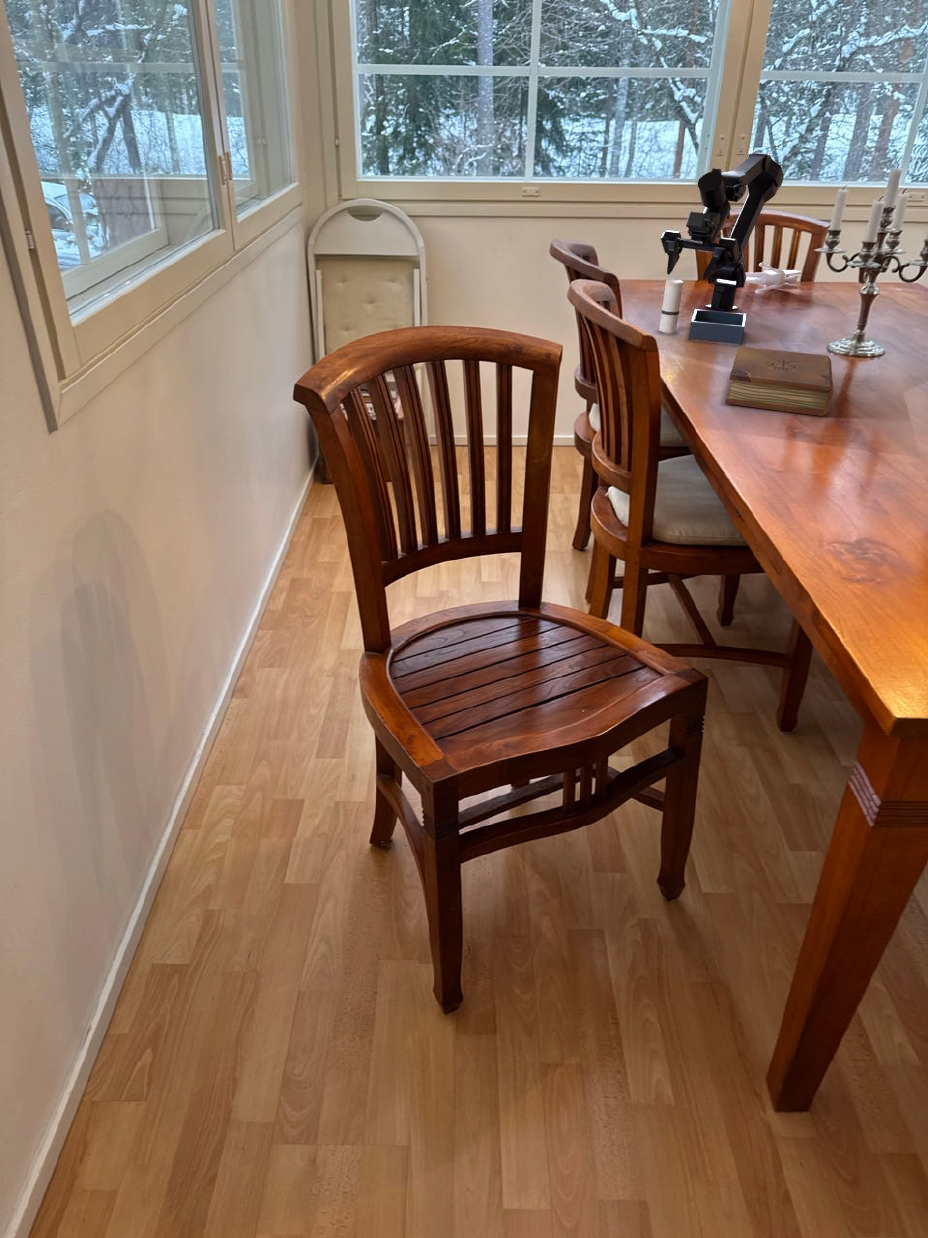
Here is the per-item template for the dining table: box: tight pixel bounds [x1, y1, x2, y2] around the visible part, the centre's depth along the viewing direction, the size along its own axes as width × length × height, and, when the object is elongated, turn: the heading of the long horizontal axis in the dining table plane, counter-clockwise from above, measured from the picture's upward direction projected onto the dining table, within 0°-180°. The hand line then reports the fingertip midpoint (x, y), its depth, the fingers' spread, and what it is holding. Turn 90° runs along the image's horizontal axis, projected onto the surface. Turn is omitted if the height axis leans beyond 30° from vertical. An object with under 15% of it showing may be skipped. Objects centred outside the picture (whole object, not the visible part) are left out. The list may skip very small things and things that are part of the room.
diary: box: [724, 345, 834, 417], centre depth 174 cm, size 23×19×6 cm
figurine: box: [735, 262, 802, 295], centre depth 256 cm, size 9×12×20 cm
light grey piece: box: [658, 279, 684, 334], centre depth 210 cm, size 4×4×12 cm
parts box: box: [687, 308, 747, 345], centre depth 210 cm, size 13×12×5 cm
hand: (685, 276), depth 211 cm, fingers open, 9 cm apart
